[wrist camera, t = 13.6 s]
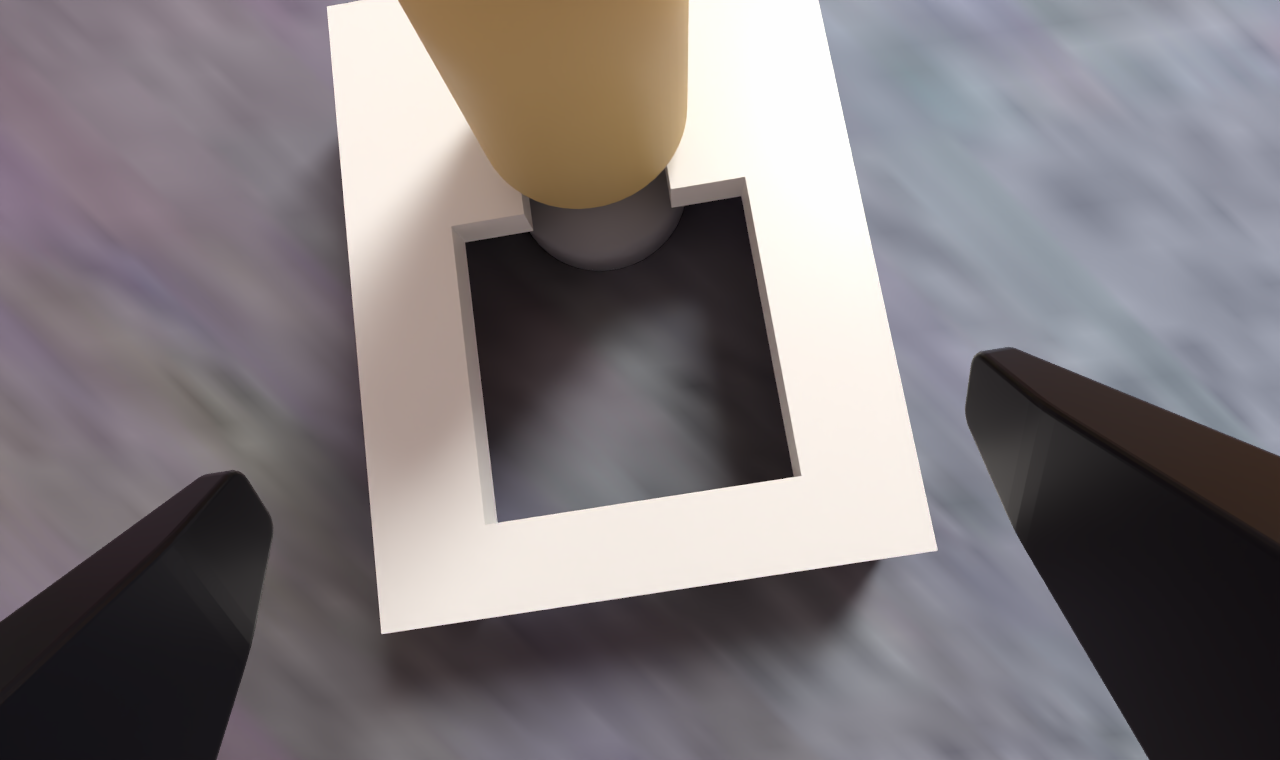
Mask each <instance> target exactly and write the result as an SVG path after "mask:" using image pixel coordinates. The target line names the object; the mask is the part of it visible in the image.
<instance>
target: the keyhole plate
mask: <svg viewBox="0 0 1280 760" xmlns="http://www.w3.org/2000/svg"><path fill="white" fill-rule="evenodd" d="M327 13H328V24H329V36H330V47H331V59H332V70H333V82H334V93H335V105H336V116H337V128H338V139H339V151H340V162H341V174H342V185H343V197H344V209H345V220H346V232H347V243H348V255H349V266H350V278H351V289H352V301H353V312H354V324H355V335H356V347H357V358H358V370H359V381H360V393H361V404H362V416H363V427H364V439H365V450H366V462H367V474H368V485H369V497H370V508H371V520H372V531H373V543H374V554H375V566H376V577H377V589H378V600H379V612H380V623H381V634H386V633H393V632H399V631H406V630H413V629H419V628H426V627H433V626H439V625H446V624H452V623H459V622H466V621H472V620H479V619H486V618H492V617H499V616H506V615H512V614H519V613H526V612H532V611H539V610H546V609H552V608H559V607H565V606H572V605H579V604H585V603H592V602H599V601H605V600H612V599H619V598H625V597H632V596H639V595H645V594H652V593H659V592H665V591H672V590H678V589H685V588H692V587H698V586H705V585H712V584H718V583H725V582H732V581H738V580H745V579H752V578H758V577H765V576H772V575H778V574H785V573H792V572H798V571H805V570H811V569H818V568H825V567H831V566H838V565H845V564H851V563H858V562H865V561H871V560H878V559H885V558H891V557H898V556H905V555H911V554H918V553H924V552H931V551H938V550H937V545H936V541H935V536H934V531H933V527H932V522H931V518H930V513H929V508H928V504H927V499H926V495H925V490H924V485H923V481H922V476H921V471H920V467H919V462H918V458H917V453H916V448H915V444H914V439H913V435H912V430H911V425H910V421H909V416H908V412H907V407H906V402H905V398H904V393H903V389H902V384H901V379H900V375H899V370H898V366H897V361H896V356H895V352H894V347H893V343H892V338H891V333H890V329H889V324H888V320H887V315H886V310H885V306H884V301H883V296H882V292H881V287H880V283H879V278H878V273H877V269H876V264H875V260H874V255H873V250H872V246H871V241H870V237H869V232H868V227H867V223H866V218H865V214H864V209H863V204H862V200H861V195H860V191H859V186H858V181H857V177H856V172H855V168H854V163H853V158H852V154H851V149H850V145H849V140H848V135H847V131H846V126H845V122H844V117H843V112H842V108H841V103H840V98H839V94H838V89H837V85H836V80H835V75H834V71H833V66H832V62H831V57H830V52H829V48H828V43H827V39H826V34H825V29H824V25H823V20H822V16H821V11H820V6H819V2H818V0H689V24H688V102H687V119H686V124H685V129H684V133H683V136H682V139H681V141H680V144H679V146H678V148H677V150H676V152H675V154H674V156H673V157H672V159H671V160H670V162H669V163H668V164H667V166H666V167H665V172H666V178H667V184H668V190H669V195H670V201H671V207H672V208H673V207H679V206H685V205H691V204H697V203H703V202H709V201H715V200H721V199H727V198H733V197H739V196H741V197H742V203H743V208H744V213H745V219H746V224H747V229H748V235H749V240H750V245H751V251H752V256H753V261H754V267H755V272H756V277H757V283H758V288H759V293H760V299H761V304H762V309H763V315H764V320H765V325H766V331H767V336H768V342H769V347H770V352H771V358H772V363H773V368H774V374H775V379H776V384H777V390H778V395H779V400H780V406H781V411H782V416H783V422H784V427H785V432H786V438H787V443H788V448H789V454H790V459H791V464H792V470H793V475H794V477H791V478H785V479H778V480H772V481H765V482H759V483H752V484H746V485H739V486H733V487H726V488H720V489H713V490H707V491H701V492H694V493H688V494H681V495H675V496H668V497H662V498H655V499H649V500H642V501H636V502H629V503H623V504H616V505H610V506H603V507H597V508H591V509H584V510H578V511H571V512H565V513H558V514H552V515H545V516H539V517H532V518H526V519H519V520H513V521H506V522H500V523H498V522H497V514H496V505H495V496H494V488H493V479H492V471H491V462H490V453H489V445H488V436H487V428H486V419H485V410H484V402H483V393H482V385H481V376H480V367H479V359H478V350H477V341H476V333H475V324H474V316H473V307H472V298H471V290H470V281H469V273H468V264H467V255H466V247H465V242H470V241H476V240H482V239H488V238H494V237H500V236H506V235H512V234H518V233H524V232H530V231H533V224H532V216H531V209H530V201H529V197H527V196H525V195H523V194H522V193H520V192H519V191H517V190H516V189H514V188H513V187H512V186H510V185H509V184H508V183H507V182H506V181H505V180H504V179H503V178H502V177H501V176H500V175H499V174H498V172H497V171H496V170H495V169H494V167H493V166H492V164H491V163H490V161H489V159H488V158H487V156H486V154H485V153H484V151H483V149H482V147H481V146H480V144H479V142H478V140H477V138H476V137H475V135H474V133H473V131H472V130H471V128H470V126H469V124H468V123H467V121H466V119H465V117H464V116H463V114H462V112H461V110H460V109H459V107H458V105H457V103H456V102H455V100H454V98H453V96H452V94H451V93H450V91H449V89H448V87H447V86H446V84H445V82H444V80H443V79H442V77H441V75H440V73H439V72H438V70H437V68H436V66H435V65H434V63H433V61H432V59H431V58H430V56H429V54H428V52H427V51H426V49H425V47H424V45H423V43H422V42H421V40H420V38H419V36H418V35H417V33H416V31H415V29H414V28H413V26H412V24H411V22H410V21H409V19H408V17H407V15H406V14H405V12H404V10H403V8H402V7H401V5H400V3H399V1H398V0H361V1H356V2H350V3H345V4H339V5H333V6H328V7H327Z"/></svg>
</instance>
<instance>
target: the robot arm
mask: <svg viewBox="0 0 1280 760" xmlns="http://www.w3.org/2000/svg"><path fill="white" fill-rule="evenodd" d="M965 415H966V420H967V424H968V427H969V429H970V431H971V434H972V436H973V438H974V440H975V443H976V445H977V447H978V450H979V452H980V454H981V456H982V459H983V461H984V463H985V465H986V468H987V470H988V472H989V475H990V477H991V479H992V481H993V484H994V486H995V488H996V490H997V493H998V495H999V497H1000V500H1001V502H1002V504H1003V506H1004V509H1005V511H1006V513H1007V515H1008V517H1009V520H1010V522H1011V524H1012V526H1013V528H1014V530H1015V532H1016V534H1017V536H1018V537H1019V539H1020V541H1021V543H1022V545H1023V546H1024V548H1025V550H1026V552H1027V553H1028V555H1029V557H1030V558H1031V560H1032V562H1033V564H1034V565H1035V567H1036V569H1037V570H1038V572H1039V574H1040V575H1041V577H1042V579H1043V580H1044V582H1045V584H1046V586H1047V587H1048V589H1049V591H1050V592H1051V594H1052V596H1053V597H1054V599H1055V601H1056V602H1057V604H1058V606H1059V608H1060V609H1061V611H1062V613H1063V614H1064V616H1065V618H1066V619H1067V621H1068V623H1069V625H1070V626H1071V628H1072V630H1073V631H1074V633H1075V635H1076V636H1077V638H1078V640H1079V641H1080V643H1081V645H1082V647H1083V648H1084V650H1085V652H1086V653H1087V655H1088V657H1089V658H1090V660H1091V662H1092V664H1093V665H1094V667H1095V669H1096V670H1097V672H1098V674H1099V675H1100V677H1101V679H1102V680H1103V682H1104V684H1105V686H1106V687H1107V689H1108V691H1109V692H1110V694H1111V696H1112V697H1113V699H1114V701H1115V702H1116V704H1117V706H1118V708H1119V709H1120V711H1121V713H1122V714H1123V716H1124V718H1125V719H1126V721H1127V723H1128V725H1129V726H1130V728H1131V730H1132V731H1133V733H1134V735H1135V736H1136V738H1137V740H1138V741H1139V743H1140V745H1141V747H1142V748H1143V750H1144V752H1145V753H1146V755H1147V757H1148V758H1149V760H1280V456H1278V455H1275V454H1273V453H1270V452H1268V451H1265V450H1263V449H1261V448H1258V447H1256V446H1253V445H1251V444H1248V443H1246V442H1243V441H1241V440H1239V439H1236V438H1234V437H1231V436H1229V435H1226V434H1224V433H1221V432H1219V431H1216V430H1214V429H1212V428H1209V427H1207V426H1204V425H1202V424H1199V423H1197V422H1194V421H1192V420H1190V419H1187V418H1185V417H1182V416H1180V415H1177V414H1175V413H1172V412H1170V411H1168V410H1165V409H1163V408H1160V407H1158V406H1155V405H1153V404H1150V403H1148V402H1145V401H1143V400H1141V399H1138V398H1136V397H1133V396H1131V395H1128V394H1126V393H1123V392H1121V391H1119V390H1116V389H1114V388H1111V387H1109V386H1106V385H1104V384H1101V383H1099V382H1096V381H1094V380H1092V379H1089V378H1087V377H1084V376H1082V375H1079V374H1077V373H1074V372H1072V371H1070V370H1067V369H1065V368H1062V367H1060V366H1057V365H1055V364H1052V363H1050V362H1047V361H1045V360H1043V359H1040V358H1038V357H1035V356H1033V355H1030V354H1028V353H1025V352H1023V351H1021V350H1018V349H1015V348H1012V347H1005V348H999V349H993V350H987V351H981V352H979V353H977V354H976V355H975V356H974V358H973V360H972V363H971V368H970V375H969V382H968V389H967V397H966V404H965ZM272 538H273V523H272V519H271V516H270V514H269V512H268V511H267V509H266V508H265V506H264V504H263V503H262V501H261V500H260V498H259V497H258V495H257V493H256V492H255V490H254V489H253V487H252V485H251V484H250V482H249V481H248V479H247V478H246V476H245V475H244V474H242V473H241V472H239V471H235V470H230V471H224V472H218V473H211V474H206V475H203V476H201V477H199V478H198V479H196V480H195V481H194V482H192V483H191V484H190V485H188V486H187V487H185V488H184V489H183V490H181V491H180V492H179V493H177V494H176V495H174V496H173V497H172V498H170V499H169V500H167V501H166V502H165V503H163V504H162V505H161V506H159V507H158V508H156V509H155V510H154V511H152V512H151V513H150V514H148V515H147V516H145V517H144V518H143V519H141V520H140V521H139V522H137V523H136V524H134V525H133V526H132V527H130V528H129V529H128V530H126V531H125V532H123V533H122V534H121V535H119V536H118V537H117V538H115V539H114V540H112V541H111V542H110V543H108V544H107V545H106V546H104V547H103V548H101V549H100V550H99V551H97V552H96V553H95V554H93V555H92V556H90V557H89V558H88V559H86V560H85V561H84V562H82V563H81V564H79V565H78V566H77V567H75V568H74V569H73V570H71V571H70V572H68V573H67V574H66V575H64V576H63V577H62V578H60V579H59V580H57V581H56V582H55V583H53V584H52V585H51V586H49V587H48V588H46V589H45V590H44V591H42V592H41V593H40V594H38V595H37V596H35V597H34V598H33V599H31V600H30V601H29V602H27V603H26V604H24V605H23V606H22V607H20V608H19V609H17V610H16V611H15V612H13V613H12V614H11V615H9V616H8V617H6V618H5V619H4V620H2V621H1V622H0V760H216V759H217V756H218V753H219V750H220V746H221V743H222V740H223V737H224V734H225V730H226V727H227V724H228V721H229V717H230V714H231V711H232V708H233V704H234V701H235V698H236V695H237V692H238V688H239V685H240V682H241V679H242V675H243V672H244V669H245V666H246V662H247V659H248V655H249V651H250V648H251V644H252V639H253V635H254V631H255V626H256V621H257V616H258V611H259V605H260V600H261V595H262V590H263V585H264V580H265V574H266V569H267V564H268V559H269V554H270V549H271V543H272Z"/></svg>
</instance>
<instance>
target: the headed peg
mask: <svg viewBox="0 0 1280 760" xmlns="http://www.w3.org/2000/svg"><path fill="white" fill-rule="evenodd" d="M398 1H399V3H400V5H401V7H402V8H403V10H404V12H405V14H406V15H407V17H408V19H409V21H410V22H411V24H412V26H413V28H414V29H415V31H416V33H417V35H418V36H419V38H420V40H421V42H422V43H423V45H424V47H425V49H426V51H427V52H428V54H429V56H430V58H431V59H432V61H433V63H434V65H435V66H436V68H437V70H438V72H439V73H440V75H441V77H442V79H443V80H444V82H445V84H446V86H447V87H448V89H449V91H450V93H451V94H452V96H453V98H454V100H455V102H456V103H457V105H458V107H459V109H460V110H461V112H462V114H463V116H464V117H465V119H466V121H467V123H468V124H469V126H470V128H471V130H472V131H473V133H474V135H475V137H476V138H477V140H478V142H479V144H480V146H481V147H482V149H483V151H484V153H485V154H486V156H487V158H488V159H489V161H490V163H491V164H492V166H493V167H494V169H495V170H496V171H497V172H498V174H499V175H500V176H501V177H502V178H503V179H504V180H505V181H506V182H507V183H508V184H509V185H510V186H512V187H513V188H514V189H516V190H517V191H519V192H520V193H522V194H523V195H525V196H527V197H529V201H530V209H531V216H532V224H533V231H530V233H531V235H532V236H533V238H534V239H535V240H536V242H537V243H538V244H539V245H540V246H541V247H542V248H543V249H544V250H545V251H546V252H547V253H549V254H550V255H552V256H553V257H555V258H556V259H557V260H559V261H561V262H563V263H566V264H568V265H571V266H574V267H577V268H581V269H586V270H595V271H605V270H614V269H620V268H624V267H627V266H630V265H633V264H635V263H637V262H639V261H641V260H643V259H645V258H647V257H648V256H650V255H651V254H653V253H654V252H655V251H656V250H658V249H659V248H660V247H661V246H662V245H663V244H664V243H665V242H666V241H667V240H668V238H669V237H670V236H671V234H672V233H673V231H674V230H675V228H676V226H677V224H678V223H679V221H680V218H681V215H682V213H683V209H684V206H679V207H673V208H672V207H671V201H670V195H669V190H668V184H667V178H666V172H665V167H666V166H667V164H668V163H669V162H670V160H671V159H672V157H673V156H674V154H675V152H676V150H677V148H678V146H679V144H680V141H681V139H682V136H683V133H684V129H685V124H686V119H687V102H688V24H689V0H398Z"/></svg>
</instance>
